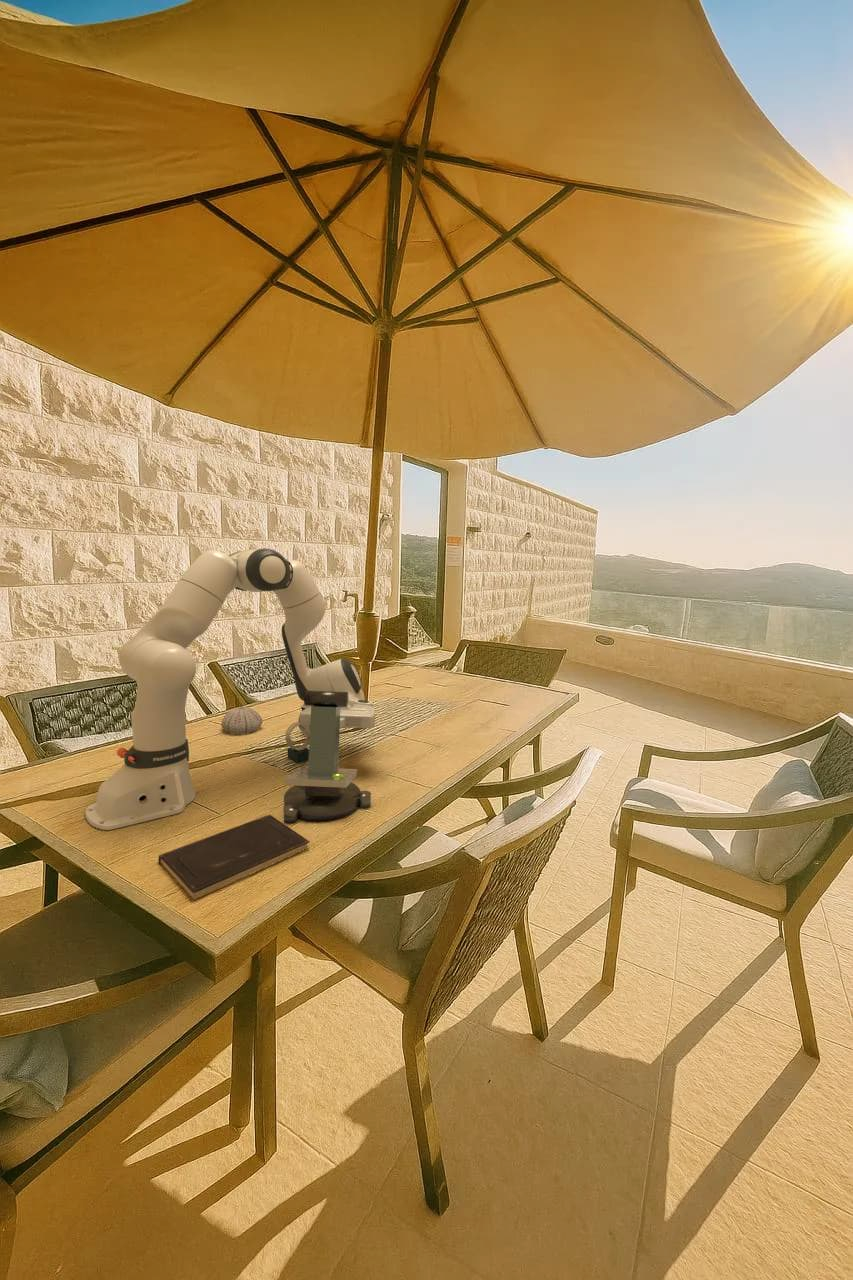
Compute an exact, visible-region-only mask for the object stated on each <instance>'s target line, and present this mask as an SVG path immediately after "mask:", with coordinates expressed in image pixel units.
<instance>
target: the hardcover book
mask: <svg viewBox="0 0 853 1280" xmlns="http://www.w3.org/2000/svg"><path fill="white" fill-rule="evenodd" d="M309 843H310V840H308V839H307V838H305V837H304V836H303V835H301V834H299V833H298V832H297V831H295V830H293V829H292V828H290V827H289V826H287V824H286V823H284V822H282V821H280V820H279V819H277V817H274V816H273V815H271V814H270V813H269V814H266V815H265V816H264V815H263V816H262V817H259V818H256V819H253V820H250V821H248V822H244V823H243V824H240V825H237V826H235V827H231V828H229V829H226V830H223V831H220V832H218V833H216V834H213V835H209V836H207V837H205V838H202V839H199V840H197V841H194V842H190V843H188V844H185V845H183V846H181V847H177V848H173V849H172V850H169V851H167V852H164V853H161V854H158V863H159V864H160V863H161V865H163V866H164V868H165V869H166V870H167V871H168V872H169V873H170V874H171V875H172V876H173V878H174V879H175V880H176V881H177V882H178V883H179V884H180V885H181V887H182V888H183V889H184V890H185V891H186V892H187V893H188V894H189V895H190V897H191V898H192V899H193V900H196V899H199V898H201V897H203V896H205V895H207V894H209V893H212V892H214V891H217V890H218V889H221V888H223V887H225V886H227V885H230V884H232V883H234V882H237V881H238V879H239V880H241V879H243V878H245V877H247V876H246V875H248V876H250V875H251V874H250V873H252V874H254V873H256V872H255V871H257V870H259V869H261V870H263V869H265V868H264V867H266V866H268V867H270V866H271V865H270V864H272V863H274V864H276V863H275V862H277V863H278V861H279V860H281V861H283V860H285V859H284V858H286V857H288V856H290V857H292V856H294V855H296V854H295V853H297V852H299V851H301V852H303V851H304V850H303V849H306V848H307V849H308V847H309V845H308V844H309ZM307 849H306V850H307ZM302 850H303V851H302ZM299 853H300V852H299ZM293 854H294V855H293ZM297 854H298V853H297ZM291 855H292V856H291ZM288 858H289V857H288ZM282 859H283V860H282ZM286 859H287V858H286ZM279 862H280V861H279ZM269 865H270V866H269ZM272 865H273V864H272ZM262 868H263V869H262ZM266 868H267V867H266ZM259 871H260V870H259ZM253 872H254V873H253ZM257 872H258V871H257ZM249 874H250V875H249ZM244 876H245V877H244ZM242 877H243V878H242ZM240 878H241V879H240ZM216 889H217V890H216Z"/></svg>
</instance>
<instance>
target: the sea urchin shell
mask: <svg viewBox="0 0 853 1280" xmlns="http://www.w3.org/2000/svg"><path fill="white" fill-rule="evenodd" d="M262 724H263V718H262V716H261V715H260V714H259V712H258V711H257V710H255V709H254V708H252V707H248V706H237V707H233V708H231V709H230V710H228V711H227V713H225V715H224V716H223V718H222V720H221V723H220V726H221V729H223V731H225V732H226V733H228V732H229V733H230V734H234V735H244V734H250V733H254V731H255V732H256V731H257V730H259V729H261V726H262ZM243 733H244V734H243Z"/></svg>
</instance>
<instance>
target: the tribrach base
mask: <svg viewBox="0 0 853 1280" xmlns="http://www.w3.org/2000/svg"><path fill="white" fill-rule="evenodd" d="M371 805H372V793H371V791H369V790H361V789H360V787H359V786H358V785H356V784H355V783H354V782H353V781H351V783H350V784H349V785H348V786H347V787H346V788H340V787H317V786H295V785H291V787H290V788H288V789H287V790H286V791H285V792H284V795H283V824H285V825H293V823H294V824H297V823H298V822H299V821H301V822H306V823H327V822H334V821H337V820H341V819H344V818H346V816H347V817H348V816H350V815H352V814H354V813H355V812H356V811H358V810H359V809H363V810H364V809H369V808H371ZM340 818H341V819H340ZM297 821H298V822H297Z"/></svg>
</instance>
